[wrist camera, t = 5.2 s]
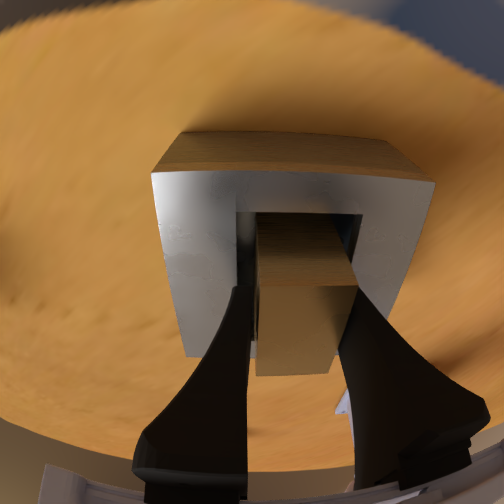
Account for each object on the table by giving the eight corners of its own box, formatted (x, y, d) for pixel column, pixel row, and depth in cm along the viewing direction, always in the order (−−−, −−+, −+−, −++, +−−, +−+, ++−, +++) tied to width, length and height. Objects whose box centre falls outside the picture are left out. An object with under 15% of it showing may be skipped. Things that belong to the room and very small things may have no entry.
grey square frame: (385, 140, 14) (435, 182, 10) (351, 290, 20) (371, 352, 16) (180, 133, 14) (150, 172, 10) (196, 291, 20) (186, 356, 15)
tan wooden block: (325, 206, 13) (359, 285, 9) (310, 291, 16) (327, 373, 12) (255, 204, 13) (260, 286, 9) (253, 292, 16) (255, 376, 12)
